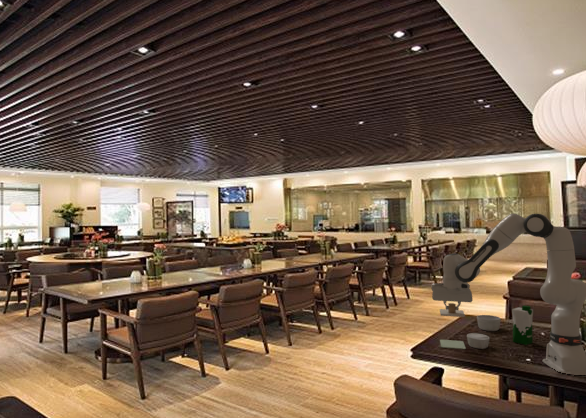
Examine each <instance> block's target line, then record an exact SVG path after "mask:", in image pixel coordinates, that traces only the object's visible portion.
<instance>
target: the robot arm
mask: <svg viewBox="0 0 586 418" xmlns="http://www.w3.org/2000/svg"><path fill="white" fill-rule="evenodd" d="M524 233H527V234H529V235H530V236H532V237H537V238H543V239H544V242H545V245H546V254H547V255H546V256H547V257H546V259H547V272H546V273H547V274H546V277H545V280H544V283H543V284H542V286H541V287H540V290H539V294H540V297H541V298H542V300H543V301H544V302H545V303H546V304H549V305H554V306H555V305H556V306H555V309H554V310H553V311H552V314H551V316H550V319H551V320H550V321H551V325H550V326H551V327H550V329H551V330H550V334H549V339H550V341H549V342H548V343H547V344H546V351H545V352H546V354H545V358H543V359H542V363H543V364H545V365H547V366H548V367H549V368H551V369H552V368H553V369H552V370H554V369H555V370H556V371H555V370H554V371H555V372H557V371H558V372H561V373H560V374H562V373H566V374H565V375H567V374H574V375H586V351H585V350H584V346H583V345H582V344H583V343H582V337H581V334H580V320H581V313H582V310H583V306H584V303H585V301H586V283H585V281H583V280H579V279H576V278H575V279H574V278H572V275H573V273H574V271H575V269H576V268H577V261H576V254H575V244H574V240H573V236H572V233H571V230H570V229H569V228H567V227H564V226H555V225H553V224H552V222H551V219H549V218H548V216H546V215H545V214H543V213H531V214H529V215H528V216H527V215H526V217H523V216H521V215H520V214H518V213H509V214H508V215H507V216H505V217H504V218H503V219H501V220H500V221H499V222H498V223H497V224H496V225H495V226H494V227H493V228H492V229H491V231H490V232H489V234H488V235H487V237H486V238H485V240H484V242H483V243H482V245H480V247H479V249H478V250H476V252H474V254H472V256H471V257H469V259H468V258H465V257H464V256H462V255H460V254H459V253H448V254H446V255H445V256H444V258H443V262H442V263H443V265H442V271H443V275H442V276H443V277H442V280H443V281H442V282H441V283H438V282H434V283H432V284H431V291H432V293H431V294H432V295H431V299H432V300H433V301H434V302H435V301H437V302H439V301H441V302H443V305H444V306H445V309H447V310H449V306H448V304H447V302H452V303H454V302H455V303H457V305H456V310H460V309H459V308H460V306H461V304H462V303H472V302H473V293H472V290H471V289H470V288H471V285H470V283H471V282H472V281H474V280H475V279H476V278H477V277H478V276H479V275H480V272H481V267H482V266H483V265H484V264H485V263H486V261H487V260H489V259H490V258H491V257H492V256H493V255H494V256H495V255H496V254H498V253H499V252H500V251H503V250H504V249H506V248H507V247H509V246H510V245H511V244H513V243H514V242H515V241H516V239H518V237H519V236H521V235H522V234H524ZM558 372H557V373H558ZM574 375H573V376H574Z"/></svg>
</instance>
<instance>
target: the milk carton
mask: <svg viewBox="0 0 586 418" xmlns="http://www.w3.org/2000/svg"><path fill="white" fill-rule="evenodd" d="M531 307H532V306H530V305H522V307H515V308H512V309H511V313H512V342H513V343H515V344H520V345H524V346H527V345H531V344H533V343H534V342H533V315H534V309H531Z"/></svg>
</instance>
